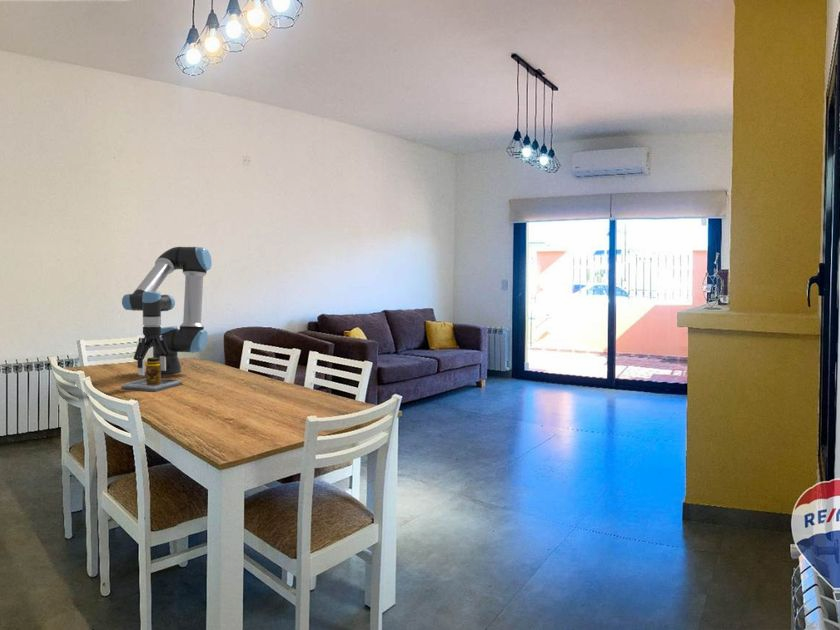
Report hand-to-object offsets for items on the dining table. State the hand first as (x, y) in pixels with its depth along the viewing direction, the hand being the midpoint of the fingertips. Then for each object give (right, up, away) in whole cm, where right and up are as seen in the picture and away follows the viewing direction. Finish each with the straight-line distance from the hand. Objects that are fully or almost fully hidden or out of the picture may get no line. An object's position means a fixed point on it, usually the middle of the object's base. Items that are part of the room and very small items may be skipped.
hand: (152, 372), depth 275 cm
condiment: (0, -5, +1) cm, 6 cm away
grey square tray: (0, -6, 0) cm, 6 cm away
